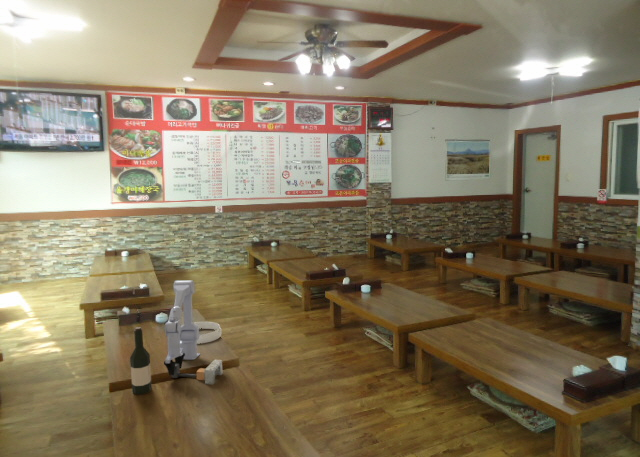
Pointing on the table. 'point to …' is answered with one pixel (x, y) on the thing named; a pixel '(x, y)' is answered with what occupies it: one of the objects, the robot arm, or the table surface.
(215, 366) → the grey stone bridge block
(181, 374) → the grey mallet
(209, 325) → the white ring
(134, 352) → the wine bottle
